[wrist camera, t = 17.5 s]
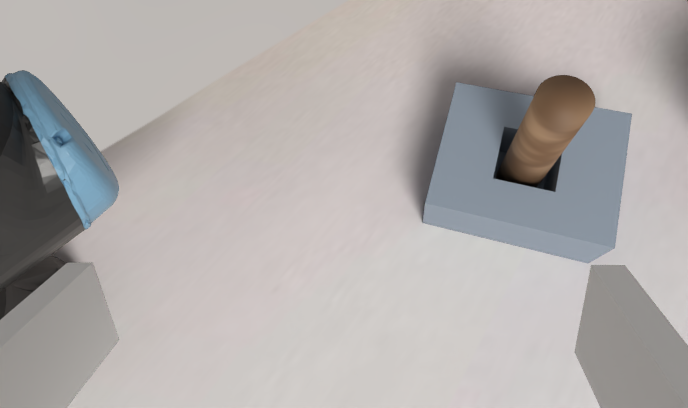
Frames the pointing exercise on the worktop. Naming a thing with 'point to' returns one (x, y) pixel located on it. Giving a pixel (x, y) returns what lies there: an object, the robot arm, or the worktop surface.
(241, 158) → the worktop surface
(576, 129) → the walnut peg
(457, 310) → the worktop surface
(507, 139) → the bore block
